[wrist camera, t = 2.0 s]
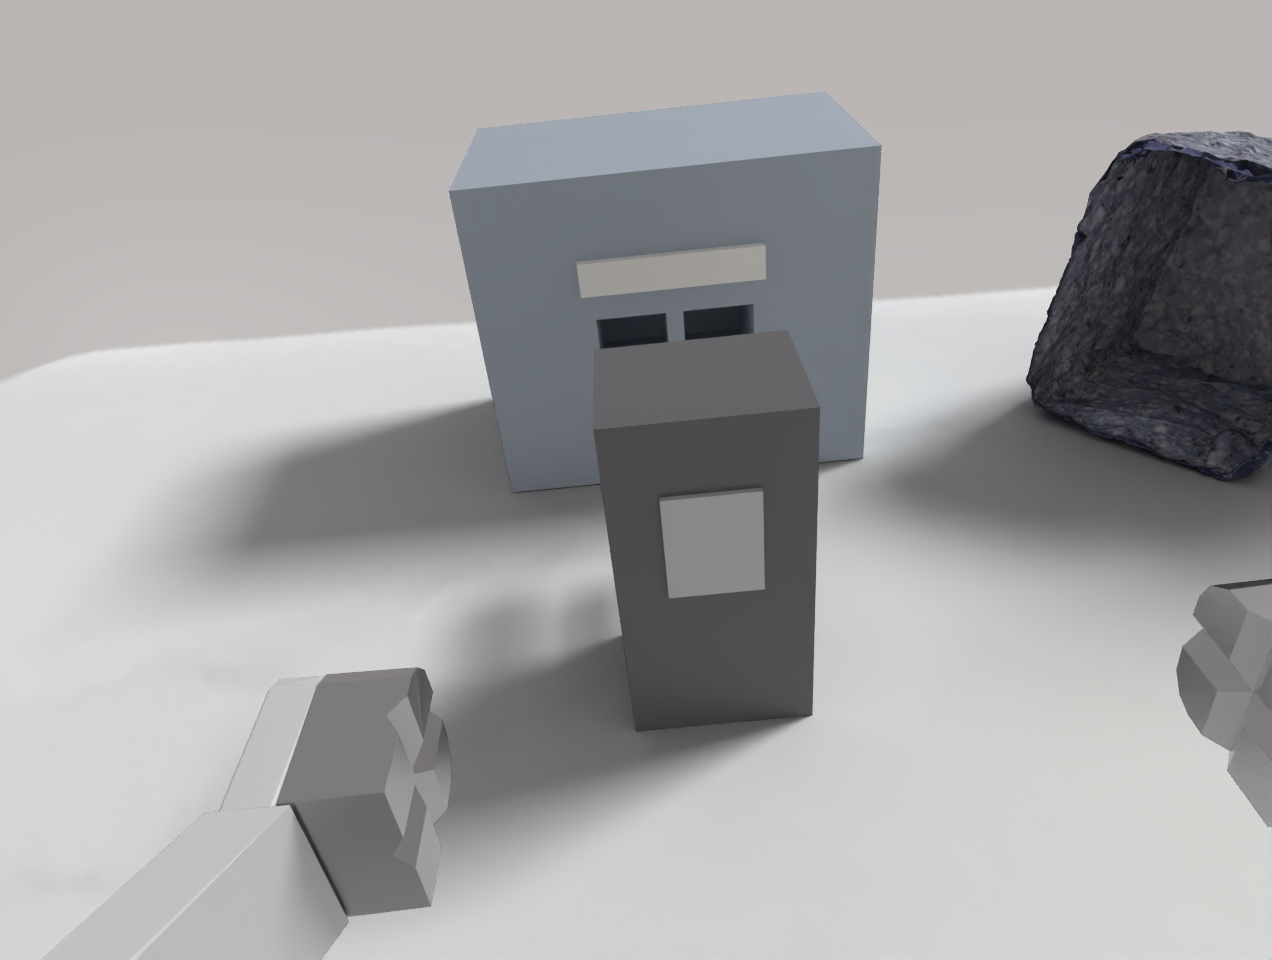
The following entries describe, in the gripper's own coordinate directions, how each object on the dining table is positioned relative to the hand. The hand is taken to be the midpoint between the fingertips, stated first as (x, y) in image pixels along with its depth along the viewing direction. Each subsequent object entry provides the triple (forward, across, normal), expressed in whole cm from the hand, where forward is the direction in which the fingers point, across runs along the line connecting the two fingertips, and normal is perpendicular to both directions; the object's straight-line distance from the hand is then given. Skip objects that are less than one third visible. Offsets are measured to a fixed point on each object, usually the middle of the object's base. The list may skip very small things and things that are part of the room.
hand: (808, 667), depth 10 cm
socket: (+27, 0, +13) cm, 30 cm away
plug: (+14, 0, +13) cm, 19 cm away
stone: (+24, -20, +13) cm, 34 cm away
